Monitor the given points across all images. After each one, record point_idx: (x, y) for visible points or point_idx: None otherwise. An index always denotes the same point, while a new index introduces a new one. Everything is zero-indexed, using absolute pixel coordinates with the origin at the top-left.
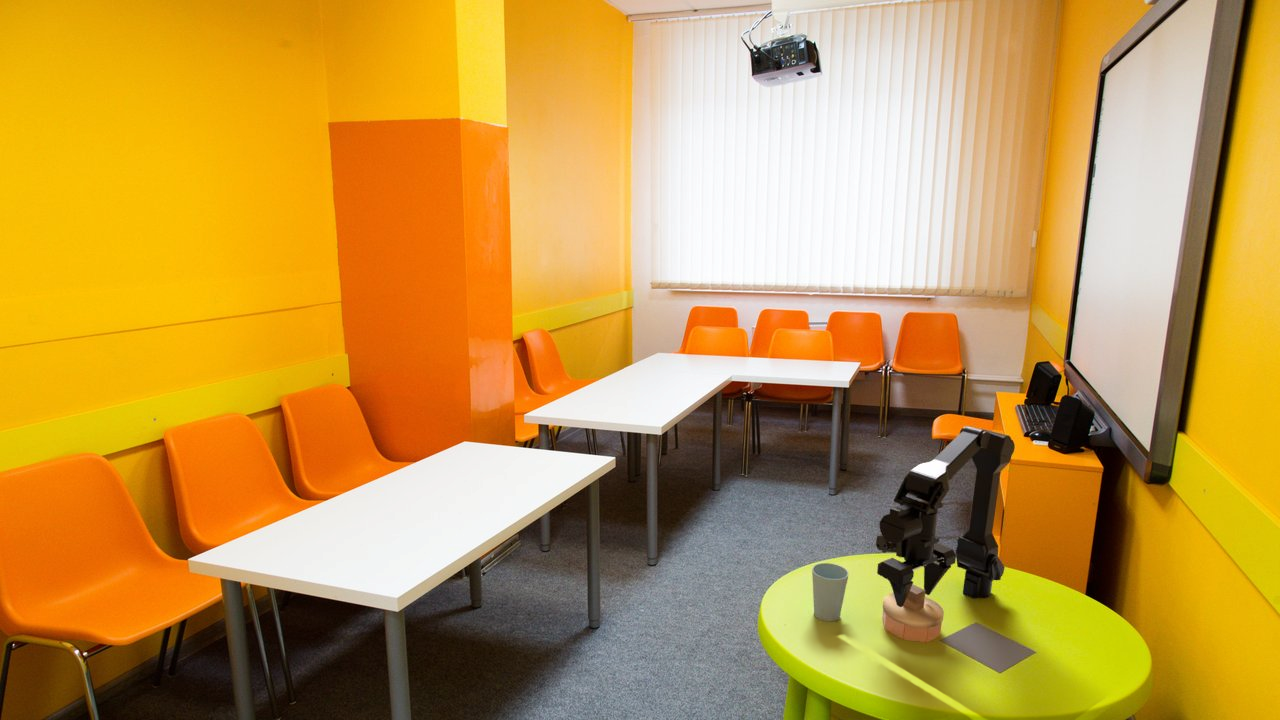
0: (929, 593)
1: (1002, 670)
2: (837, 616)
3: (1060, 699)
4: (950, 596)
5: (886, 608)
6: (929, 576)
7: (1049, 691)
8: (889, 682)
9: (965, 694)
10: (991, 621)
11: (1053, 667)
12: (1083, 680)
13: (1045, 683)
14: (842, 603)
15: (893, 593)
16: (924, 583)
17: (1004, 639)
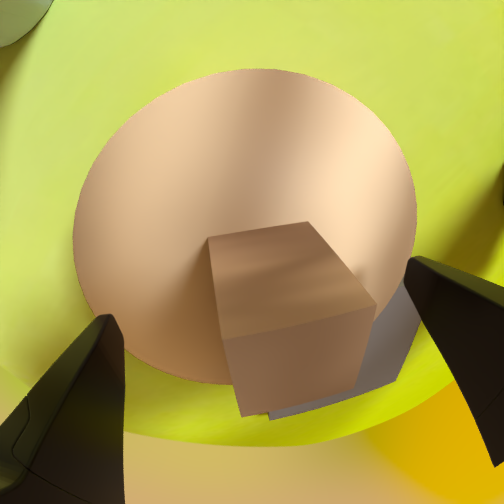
0: (410, 295)
1: (282, 416)
2: (5, 42)
3: (300, 437)
4: (500, 131)
5: (73, 229)
6: (491, 352)
7: (307, 428)
8: (24, 359)
9: (160, 420)
10: (464, 260)
11: (378, 392)
12: (373, 411)
13: (323, 418)
14: (12, 7)
15: (289, 74)
16: (455, 287)
17: (401, 346)
